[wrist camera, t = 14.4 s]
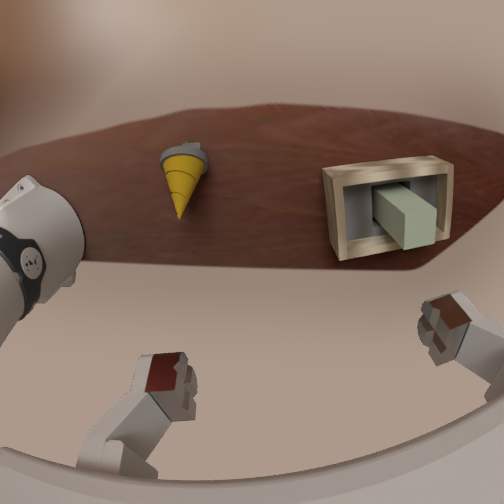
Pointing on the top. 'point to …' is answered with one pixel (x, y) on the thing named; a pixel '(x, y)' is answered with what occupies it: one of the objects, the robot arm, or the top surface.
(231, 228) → the top surface
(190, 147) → the drill bit
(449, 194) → the box
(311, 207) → the top surface
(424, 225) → the peg
